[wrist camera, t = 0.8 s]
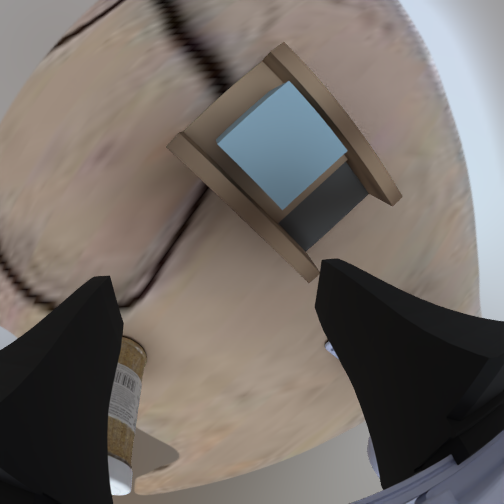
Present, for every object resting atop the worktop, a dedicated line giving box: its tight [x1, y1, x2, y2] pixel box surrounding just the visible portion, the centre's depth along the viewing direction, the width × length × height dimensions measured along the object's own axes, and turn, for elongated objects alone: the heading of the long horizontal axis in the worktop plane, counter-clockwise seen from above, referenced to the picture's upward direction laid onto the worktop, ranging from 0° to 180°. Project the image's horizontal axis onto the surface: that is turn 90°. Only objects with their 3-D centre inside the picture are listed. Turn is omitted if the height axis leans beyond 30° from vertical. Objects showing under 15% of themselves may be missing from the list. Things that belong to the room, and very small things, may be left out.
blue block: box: [216, 81, 347, 210], centre depth 15 cm, size 4×4×4 cm
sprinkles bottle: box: [107, 337, 147, 495], centre depth 18 cm, size 5×5×13 cm
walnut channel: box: [166, 42, 402, 283], centre depth 17 cm, size 12×8×4 cm
